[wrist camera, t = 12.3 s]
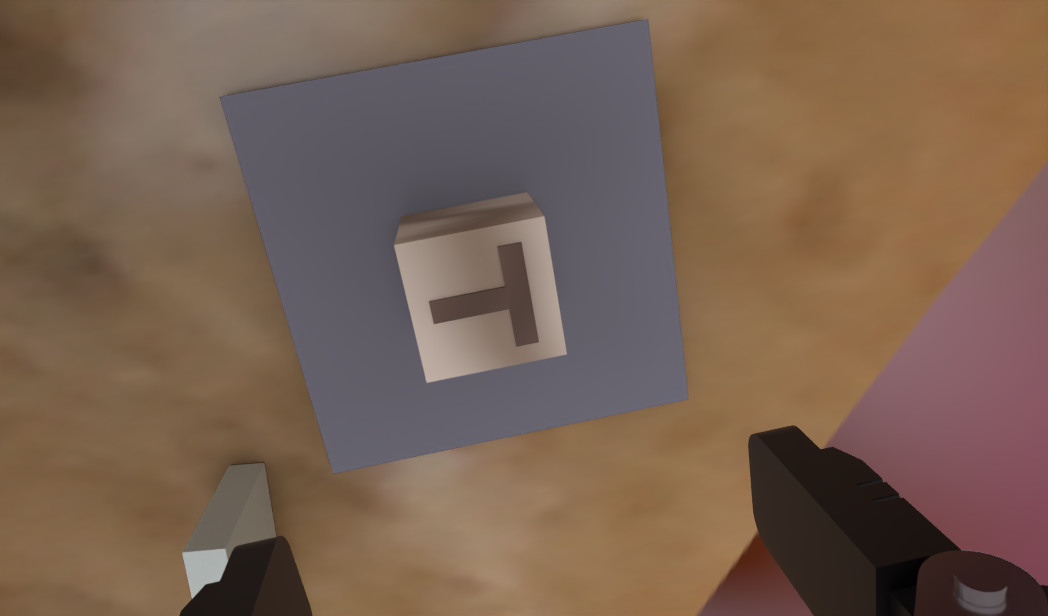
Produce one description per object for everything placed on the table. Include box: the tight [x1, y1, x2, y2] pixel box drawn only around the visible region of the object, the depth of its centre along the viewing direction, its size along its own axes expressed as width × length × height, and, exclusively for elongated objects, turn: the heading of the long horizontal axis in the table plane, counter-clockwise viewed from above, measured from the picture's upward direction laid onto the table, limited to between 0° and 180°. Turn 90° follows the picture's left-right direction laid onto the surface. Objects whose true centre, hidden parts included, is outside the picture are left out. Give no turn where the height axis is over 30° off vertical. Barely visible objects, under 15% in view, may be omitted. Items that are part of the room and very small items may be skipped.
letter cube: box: [394, 192, 567, 383], centre depth 26 cm, size 5×5×5 cm
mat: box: [220, 19, 688, 474], centre depth 29 cm, size 16×16×1 cm
